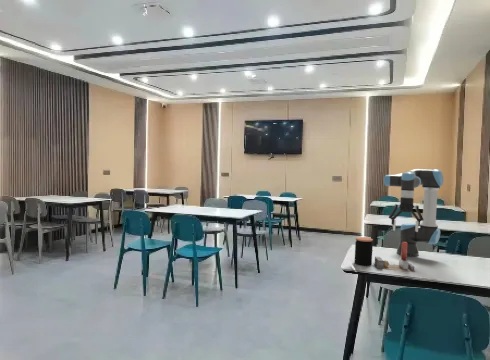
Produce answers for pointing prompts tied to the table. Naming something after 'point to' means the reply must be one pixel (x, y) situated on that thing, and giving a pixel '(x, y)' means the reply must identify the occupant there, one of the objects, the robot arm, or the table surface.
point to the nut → (385, 263)
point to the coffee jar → (363, 251)
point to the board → (391, 266)
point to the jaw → (403, 256)
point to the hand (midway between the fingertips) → (405, 230)
